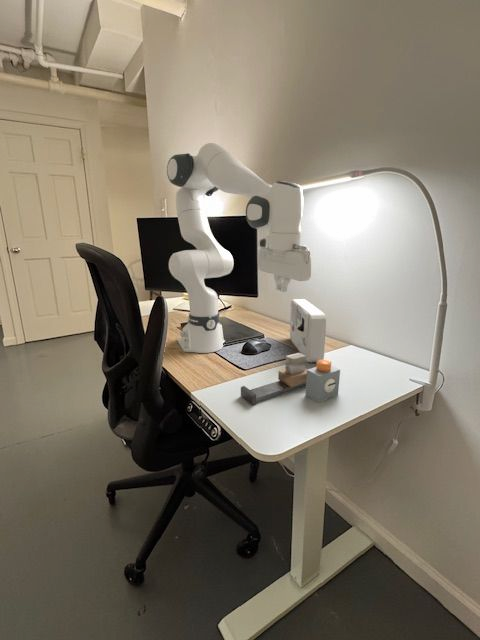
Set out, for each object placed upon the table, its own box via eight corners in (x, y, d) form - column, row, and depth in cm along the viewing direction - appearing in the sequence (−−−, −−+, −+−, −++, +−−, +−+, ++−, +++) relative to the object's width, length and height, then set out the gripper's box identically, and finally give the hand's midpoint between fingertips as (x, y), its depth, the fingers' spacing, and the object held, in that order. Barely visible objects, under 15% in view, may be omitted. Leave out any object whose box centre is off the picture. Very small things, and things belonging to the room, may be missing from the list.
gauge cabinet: (305, 395, 95) (306, 369, 93) (325, 388, 99) (327, 363, 97) (319, 403, 91) (321, 377, 88) (339, 395, 95) (341, 370, 92)
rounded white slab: (284, 338, 144) (285, 298, 139) (301, 337, 144) (303, 297, 139) (302, 364, 116) (305, 315, 111) (323, 363, 117) (327, 315, 112)
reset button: (313, 368, 94) (313, 361, 93) (323, 365, 96) (323, 358, 95) (323, 373, 90) (324, 366, 90) (333, 369, 92) (334, 363, 92)
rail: (240, 396, 95) (240, 386, 94) (304, 376, 107) (304, 367, 106) (252, 405, 90) (252, 395, 89) (317, 383, 102) (318, 374, 101)
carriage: (278, 379, 101) (279, 355, 99) (298, 373, 105) (299, 350, 103) (291, 387, 96) (292, 362, 94) (311, 380, 100) (312, 356, 98)
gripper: (318, 246, 86) (314, 297, 90) (271, 239, 103) (269, 283, 107) (300, 246, 83) (296, 299, 87) (255, 240, 99) (253, 285, 104)
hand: (281, 290), depth 97 cm, fingers closed
